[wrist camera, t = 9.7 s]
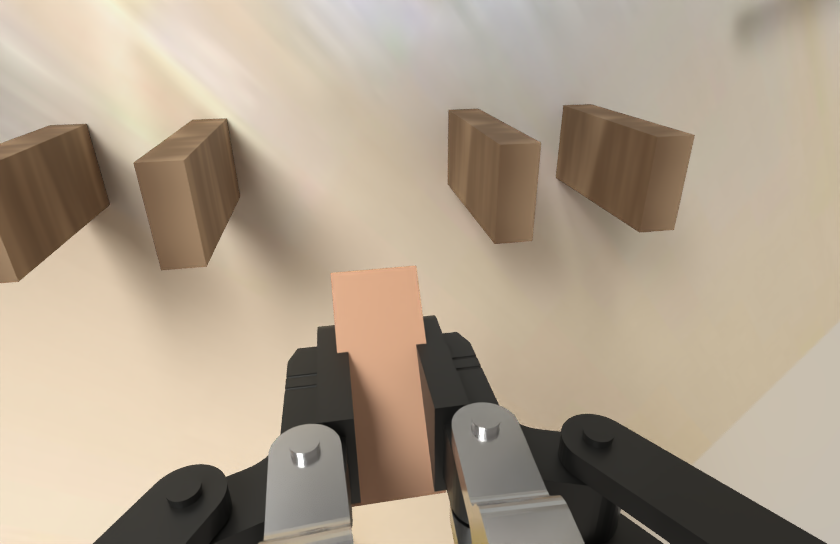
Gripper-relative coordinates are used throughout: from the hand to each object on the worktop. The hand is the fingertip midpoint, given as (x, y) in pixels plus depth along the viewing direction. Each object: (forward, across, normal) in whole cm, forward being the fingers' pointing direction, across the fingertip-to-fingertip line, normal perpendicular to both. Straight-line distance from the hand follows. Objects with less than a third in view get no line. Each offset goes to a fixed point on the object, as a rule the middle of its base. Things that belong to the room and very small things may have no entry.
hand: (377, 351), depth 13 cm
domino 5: (+23, -16, 0) cm, 28 cm away
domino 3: (+6, 0, +7) cm, 9 cm away
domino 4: (+23, -8, 0) cm, 24 cm away
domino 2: (+23, +8, 0) cm, 24 cm away
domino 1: (+23, +16, 0) cm, 28 cm away
